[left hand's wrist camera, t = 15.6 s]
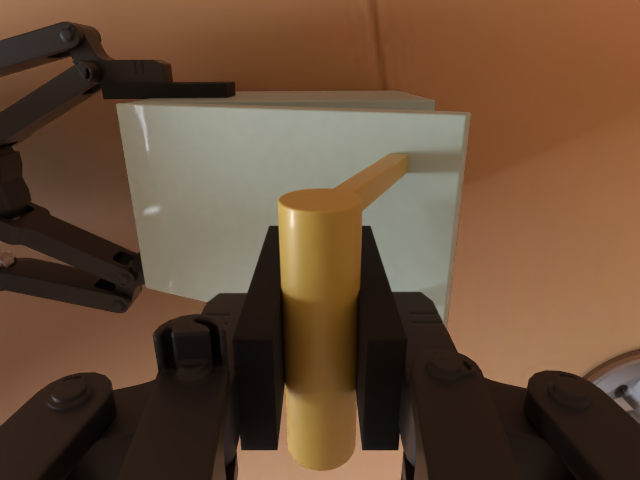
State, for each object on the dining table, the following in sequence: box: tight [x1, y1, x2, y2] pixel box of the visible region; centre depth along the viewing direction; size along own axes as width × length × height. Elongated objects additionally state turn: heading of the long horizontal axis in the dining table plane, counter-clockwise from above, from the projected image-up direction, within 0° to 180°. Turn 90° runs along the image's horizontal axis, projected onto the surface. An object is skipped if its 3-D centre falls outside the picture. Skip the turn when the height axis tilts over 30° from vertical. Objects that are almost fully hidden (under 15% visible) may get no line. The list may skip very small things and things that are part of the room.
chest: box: [133, 90, 435, 111], centre depth 28 cm, size 14×9×10 cm, turn 90°
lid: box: [116, 102, 471, 471], centre depth 16 cm, size 15×9×9 cm, turn 90°
